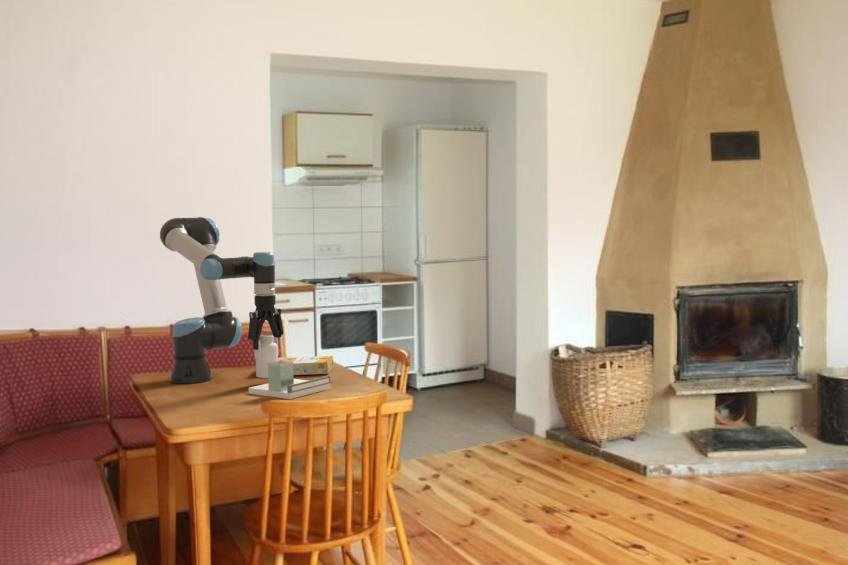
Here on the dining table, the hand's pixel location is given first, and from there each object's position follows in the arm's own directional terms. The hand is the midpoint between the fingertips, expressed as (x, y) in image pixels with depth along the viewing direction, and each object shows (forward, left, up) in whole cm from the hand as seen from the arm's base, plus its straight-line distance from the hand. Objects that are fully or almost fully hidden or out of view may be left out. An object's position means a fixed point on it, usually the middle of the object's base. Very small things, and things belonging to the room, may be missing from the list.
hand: (266, 356), depth 302 cm
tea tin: (+19, -11, -8) cm, 23 cm away
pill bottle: (0, 0, -8) cm, 8 cm away
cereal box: (-10, +25, -11) cm, 29 cm away
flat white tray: (+17, -5, -10) cm, 20 cm away
